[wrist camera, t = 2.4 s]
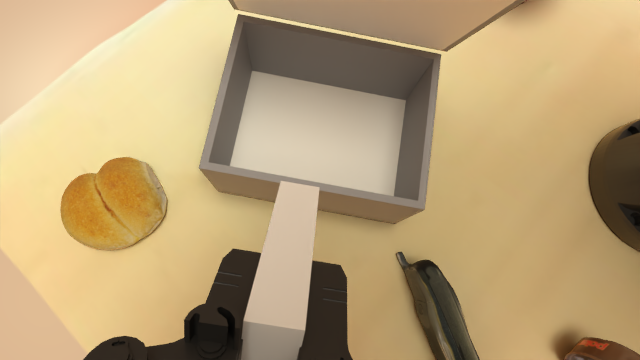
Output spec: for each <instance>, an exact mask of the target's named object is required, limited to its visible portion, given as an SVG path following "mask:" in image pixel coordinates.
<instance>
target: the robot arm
mask: <svg viewBox="0 0 640 360" xmlns="http://www.w3.org/2000/svg"><path fill="white" fill-rule="evenodd" d="M590 187H591V192H592V196H593V199H594V202H595V204H596V207H597V209H598V211H599V213H600V214H601V216H602V218H603V219H604V221H605V222H606V224H607V225H608V226H609V227H610V229H611V230H612V231H613V232H614V233H615V234H616V235H617V236H618V237H619V238H620V239H622V240H623V241H624V242H625V243H627V244H628V245H630V246H631V247H633V248H635V249H636V250H638V251H640V119H638V120H635V121H632V122H630V123H628V124H625V125H623V126H621V127H619V128H617V129H615V130H613V131H611V132H610V133H609V134H607V135H606V136H605V137H604V138H603V139H602V140H601V142H600V143H599V144H598V146H597V148H596V149H595V152H594V154H593V157H592V160H591V165H590ZM319 188H320V187H315V186H309V185H303V184H297V183H291V182H286V181H281V183H280V186H279V190H278V194H277V197H276V201H275V205H274V209H273V212H272V216H271V220H270V223H269V227H268V231H267V235H266V238H265V242H264V246H263V249H262V253H257V252H251V251H245V250H239V249H232V250H231V251H230V252H229V253H228V254H227V255H226V256H225V257H224V258H223V259H222V262H221V264H220V267H219V270H218V273H217V275H216V277H215V280H214V283H213V285H212V288H211V290H210V293H209V295H208V298H207V300H206V303H205V304H202V305H199V306H197V307H196V308H194V309H193V310H192V311H190V312H189V314H188V315H187V317H186V318H185V320H184V338H182V339H180V340H178V341H176V342H173V343H169V344H164V345H157V346H149V347H145V345H144V343H143V342H141V341H140V340H138V339H137V338H134V337H129V336H121V337H114V338H111V339H109V340H107V341H104V342H102V343H101V344H99V345H98V346H97V347H96V348H94V349H93V350H92V351H91V352H90V353H89V354H88V355H87V356H86V357H85V358H84V360H353V359H352V358H351V356H350V353H349V351H348V344H347V277H346V275H345V273H344V271H343V269H342V267H341V265H336V264H330V263H324V262H318V261H312V257H313V247H314V238H315V228H316V218H317V208H318V198H319Z"/></svg>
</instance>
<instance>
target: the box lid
mask: <svg viewBox="0 0 640 360" xmlns="http://www.w3.org/2000/svg"><path fill="white" fill-rule="evenodd" d="M524 1H526V0H229V2H230V3H231V5H232V7H233V8H234V9H236V10H241V11H246V12H251V13H256V14H261V15H266V16H271V17H276V18H281V19H286V20H291V21H296V22H301V23H306V24H311V25H316V26H321V27H326V28H331V29H336V30H341V31H346V32H351V33H356V34H361V35H366V36H371V37H376V38H381V39H386V40H391V41H396V42H401V43H406V44H411V45H416V46H421V47H426V48H431V49H436V50H441V51H446V52H447V51H448V50H450V49H451V48H453V47H454V46H456V45H458V44H459V43H461V42H462V41H464V40H465V39H467V38H468V37H470V36H471V35H473V34H475V33H476V32H478V31H479V30H481V29H482V28H484V27H485V26H487V25H489V24H490V23H492V22H493V21H495V20H496V19H498V18H499V17H501V16H503V15H504V14H506V13H507V12H509V11H510V10H512V9H513V8H515V7H517V6H518V5H520V4H521V3H523V2H524Z"/></svg>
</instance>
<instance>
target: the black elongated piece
mask: <svg viewBox="0 0 640 360" xmlns="http://www.w3.org/2000/svg"><path fill="white" fill-rule="evenodd" d="M396 255H397V258H398V260H399V262H400V264H401V266H402V268H403V270H404V272H405V274H406V277H407V279H408V283H409V286H410V288H411V290H412V293H413V295H414V298H415V304H416V311H417V314H418V317H419V319H420V321H421V324H422V326H423V328H424V330H425V333H426V335H427V338H428V340H429V343H430V346H431V348H432V350H433V353H434V355H435V357H436V359H437V360H480V359H479V357H478V355H477V352H476V350H475V348H474V346H473V343H472V341H471V339H470V336H469V334H468V330H467V327H466V323H465V320H464V317H463V314H462V310H461V306H460V303H459V301H458V298H457V296H456V294H455V292H454V290H453V288H452V287H451V285H450V284H449V282H448V281H447V280H446V278H445V277H444V275H443V274H442V272H441V271H440V269H439V268H438V266H437V265H435V264H434V263H433V262H432V261H430V260H421V261H418V262H416V263H414V264H412V265H411V264H409V263H408V262H407V261H406V259H405V257H404V255H403V253H402V252H398V253H397V254H396Z"/></svg>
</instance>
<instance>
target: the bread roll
mask: <svg viewBox="0 0 640 360" xmlns="http://www.w3.org/2000/svg"><path fill="white" fill-rule="evenodd" d="M166 203H167V199H166V196H165V193H164V191H163V188H162V186H161V184H160V182H159V181H158V178H157V177H156V175H155V174H154V173H153V170H152V169H151V168H150V167H149V165H148V164H147V163H144V162H140V161H138V160H136V159H133V158H129V157H123V158H116V159H112V160H110V161H108V162H107V163H105V164H104V165H103V166H102V168H101V169H100V170H99V172H98V173H97V174H93V173H89V174H84V175H81V176H78V177H77V178H75V179H74V180H73V181H72V182H71V183H70V184H69V185H68V187H67V188H66V190H65V192H64V194H63V196H62V201H61V218H62V222H63V224H64V227H65V229H66V230H67V232H68V233H69V235H70V236H71V237H73V238H74V239H75V240H77V241H78V242H80V243H82V244H84V245H86V246H89V247H91V248H96V249H103V250H115V249H123V248H126V247H129V246H131V245H133V244H135V243H136V242H138V241H139V240H140V239H142V238H144V237H146V236H148V235H149V234H150V233H152V232H153V231H154V230H155V229H156V227H157V226H158V225H159V224H160V222H161V221H162V219H163V218H164V215H165V212H166Z"/></svg>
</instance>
